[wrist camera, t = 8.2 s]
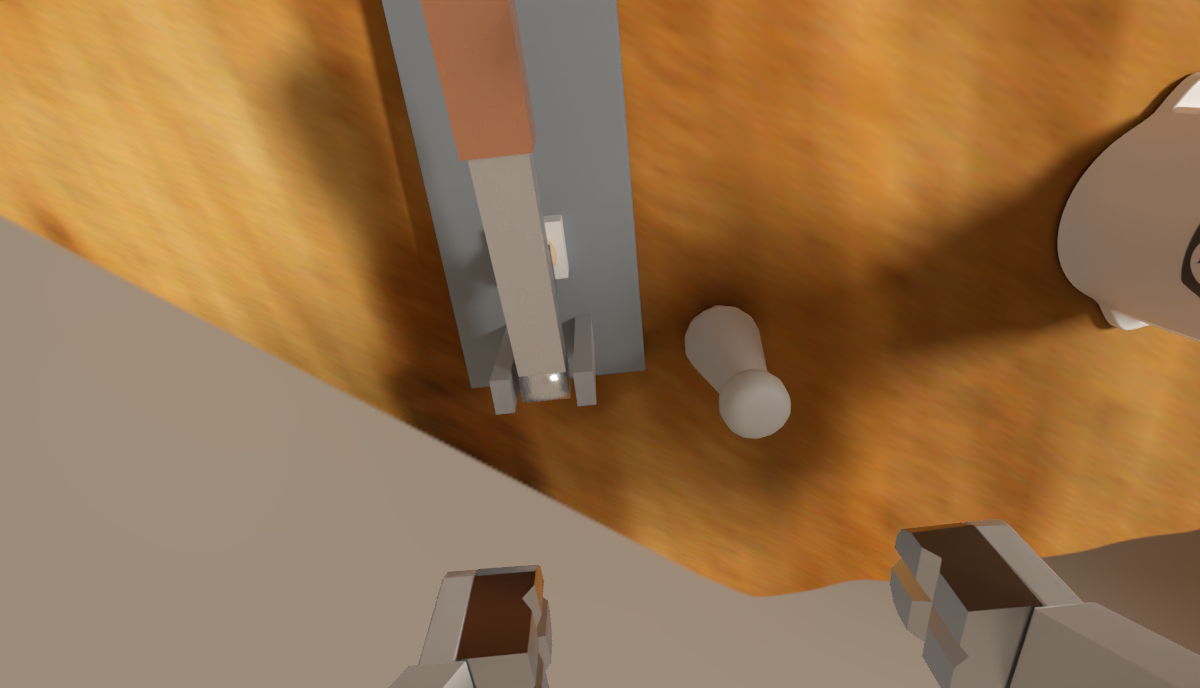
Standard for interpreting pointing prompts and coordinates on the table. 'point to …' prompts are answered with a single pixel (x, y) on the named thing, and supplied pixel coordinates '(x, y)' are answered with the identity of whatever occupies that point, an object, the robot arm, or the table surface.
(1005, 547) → the robot arm
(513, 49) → the lever
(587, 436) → the table surface
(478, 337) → the base
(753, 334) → the salt shaker
